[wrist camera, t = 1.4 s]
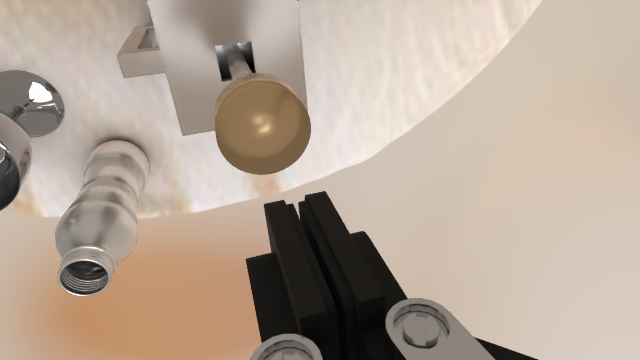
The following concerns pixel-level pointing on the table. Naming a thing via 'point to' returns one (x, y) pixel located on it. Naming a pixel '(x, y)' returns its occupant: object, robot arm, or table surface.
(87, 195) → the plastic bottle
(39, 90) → the wine glass
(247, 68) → the plunger
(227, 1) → the press pot
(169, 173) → the table surface
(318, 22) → the table surface
